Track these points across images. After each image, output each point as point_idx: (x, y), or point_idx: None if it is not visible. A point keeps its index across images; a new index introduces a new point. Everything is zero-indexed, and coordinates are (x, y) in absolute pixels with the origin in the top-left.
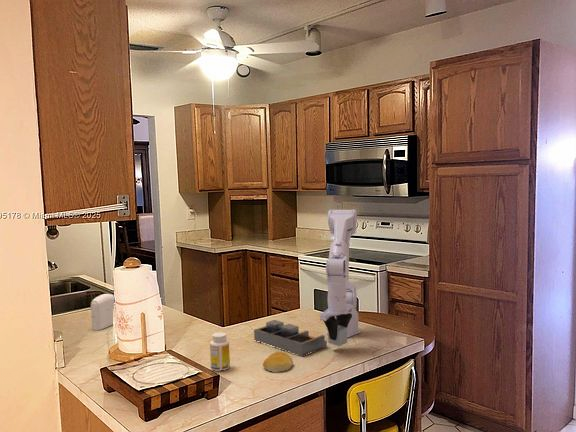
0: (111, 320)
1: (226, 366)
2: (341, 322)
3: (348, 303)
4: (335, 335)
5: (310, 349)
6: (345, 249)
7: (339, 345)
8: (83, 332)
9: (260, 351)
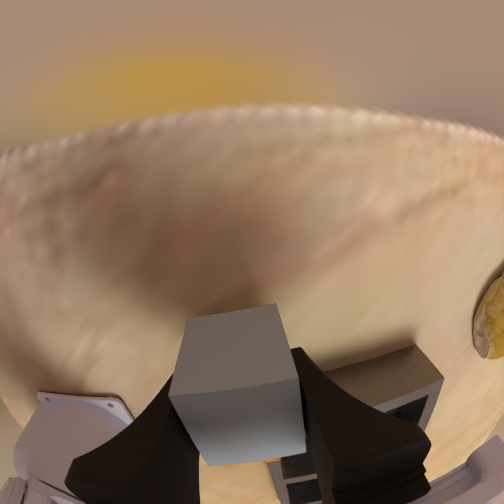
0: None
1: None
2: (183, 462)
3: None
4: (314, 363)
5: (373, 372)
6: None
7: (276, 306)
8: None
9: (432, 424)
